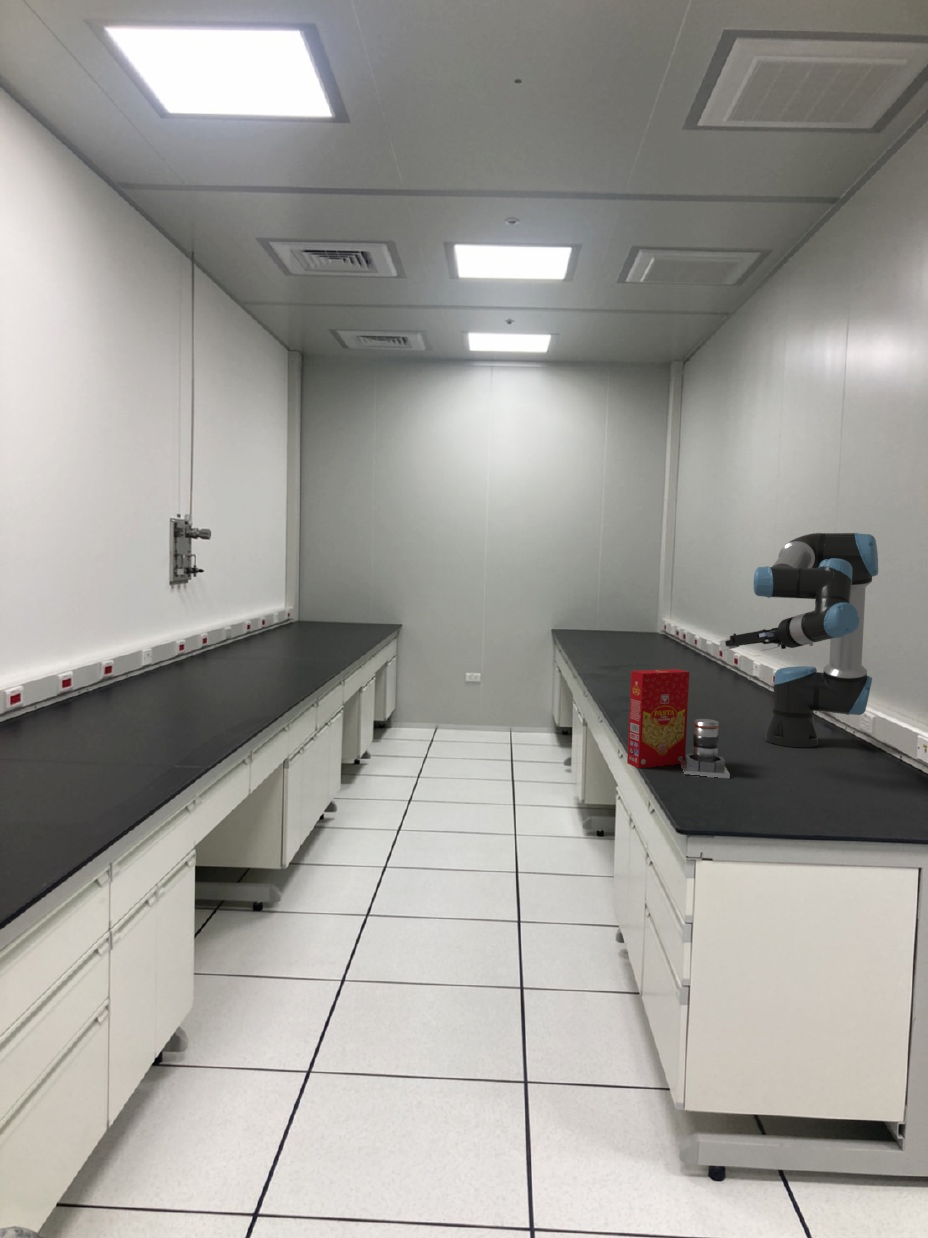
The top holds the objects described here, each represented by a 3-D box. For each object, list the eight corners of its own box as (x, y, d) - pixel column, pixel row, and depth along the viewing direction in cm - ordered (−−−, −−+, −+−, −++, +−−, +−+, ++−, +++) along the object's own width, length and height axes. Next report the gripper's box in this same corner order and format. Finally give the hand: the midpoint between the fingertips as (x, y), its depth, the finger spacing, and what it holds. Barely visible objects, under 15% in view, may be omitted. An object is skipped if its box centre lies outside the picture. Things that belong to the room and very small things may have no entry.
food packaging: (638, 768, 213) (642, 673, 211) (627, 763, 218) (631, 670, 216) (684, 764, 218) (689, 671, 216) (672, 759, 223) (677, 669, 221)
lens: (715, 764, 214) (717, 719, 213) (718, 770, 208) (721, 724, 207) (690, 763, 215) (692, 718, 214) (693, 769, 209) (695, 723, 208)
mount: (722, 767, 216) (723, 754, 216) (729, 778, 205) (730, 764, 205) (680, 764, 218) (680, 751, 217) (684, 775, 207) (685, 761, 206)
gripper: (762, 645, 196) (705, 659, 215) (839, 645, 206) (779, 659, 225) (758, 615, 198) (702, 632, 217) (835, 616, 207) (775, 632, 226)
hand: (741, 646), depth 221 cm, fingers open, 13 cm apart
